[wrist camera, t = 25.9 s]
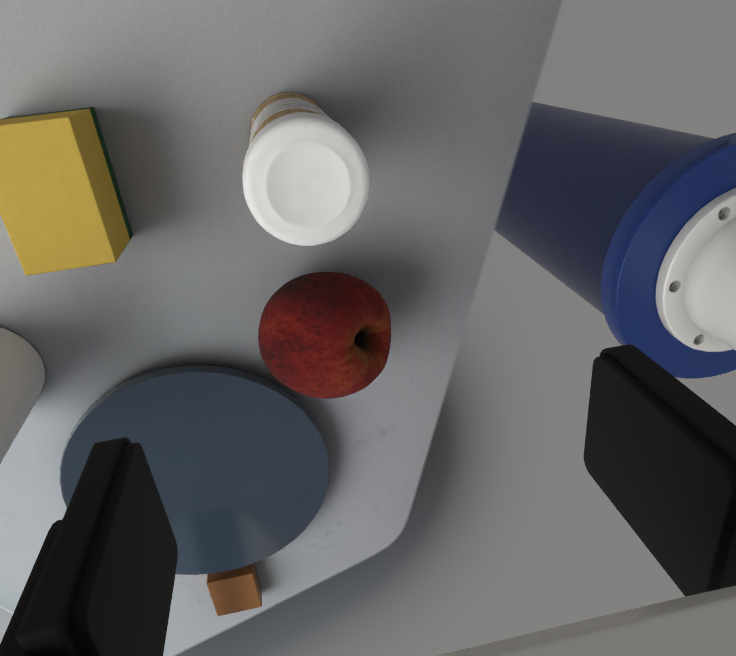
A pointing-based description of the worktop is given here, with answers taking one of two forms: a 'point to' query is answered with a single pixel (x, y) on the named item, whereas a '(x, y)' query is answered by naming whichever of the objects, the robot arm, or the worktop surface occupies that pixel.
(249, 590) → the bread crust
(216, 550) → the plate
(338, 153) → the sprinkles bottle
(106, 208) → the sponge
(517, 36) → the worktop surface
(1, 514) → the worktop surface
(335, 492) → the worktop surface
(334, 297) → the apple
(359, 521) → the worktop surface
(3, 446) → the mug
